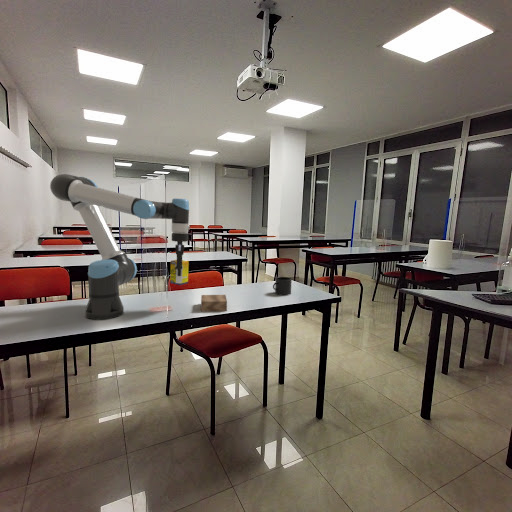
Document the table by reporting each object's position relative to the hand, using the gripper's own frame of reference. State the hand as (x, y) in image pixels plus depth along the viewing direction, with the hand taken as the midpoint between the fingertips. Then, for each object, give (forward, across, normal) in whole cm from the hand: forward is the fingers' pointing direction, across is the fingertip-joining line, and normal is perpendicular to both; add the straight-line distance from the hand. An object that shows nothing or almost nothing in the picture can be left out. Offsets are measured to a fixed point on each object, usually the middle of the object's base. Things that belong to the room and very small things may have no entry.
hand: (179, 280), depth 142 cm
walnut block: (+14, 0, -17) cm, 22 cm away
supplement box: (+2, 0, 0) cm, 2 cm away
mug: (+13, +22, -59) cm, 64 cm away
